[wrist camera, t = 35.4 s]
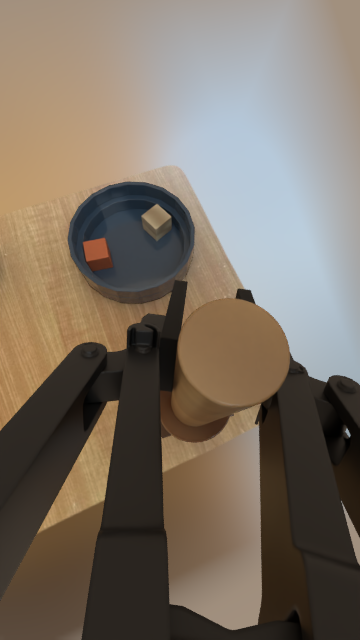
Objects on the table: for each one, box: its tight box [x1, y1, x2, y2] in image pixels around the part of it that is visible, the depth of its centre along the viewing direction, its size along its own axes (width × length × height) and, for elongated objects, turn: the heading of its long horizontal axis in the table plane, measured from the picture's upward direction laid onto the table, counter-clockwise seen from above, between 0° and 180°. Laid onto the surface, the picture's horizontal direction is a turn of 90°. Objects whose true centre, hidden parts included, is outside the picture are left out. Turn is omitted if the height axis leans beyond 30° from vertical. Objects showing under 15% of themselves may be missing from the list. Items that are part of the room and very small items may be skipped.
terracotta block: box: [83, 238, 113, 272], centre depth 47 cm, size 4×4×4 cm
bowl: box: [68, 182, 195, 303], centre depth 48 cm, size 19×19×6 cm
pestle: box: [160, 298, 290, 442], centre depth 15 cm, size 5×5×15 cm
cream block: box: [141, 204, 172, 241], centre depth 49 cm, size 4×4×4 cm
